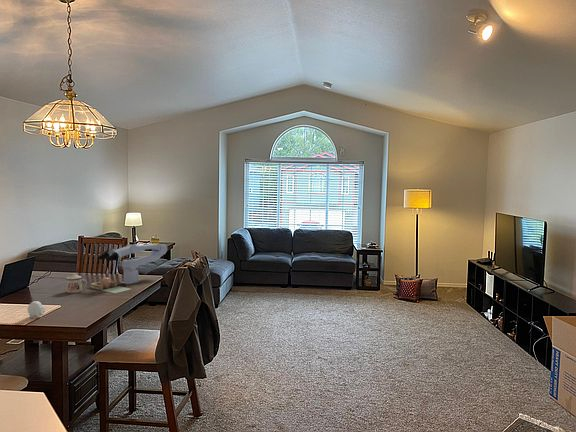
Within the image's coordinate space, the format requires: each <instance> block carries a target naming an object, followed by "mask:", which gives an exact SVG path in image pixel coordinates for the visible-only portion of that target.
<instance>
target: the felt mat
mask: <svg viewBox="0 0 576 432" xmlns="http://www.w3.org/2000/svg"><path fill="white" fill-rule="evenodd" d="M130 290H132V288H128V287H123V286H120V285H119V286H116V287H110V288H105V289H103V290H101V291H102V292H106V293H112V294H119V293H123V292H126V291H130Z"/></svg>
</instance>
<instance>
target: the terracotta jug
mask: <svg viewBox="0 0 576 432" xmlns="http://www.w3.org/2000/svg"><path fill="white" fill-rule="evenodd" d="M99 282H100V285H101V286H103V289H110V288H111V286H110V282H111V278H110V277H102V278H101V280H100V281H99Z"/></svg>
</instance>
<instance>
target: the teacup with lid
mask: <svg viewBox="0 0 576 432" xmlns="http://www.w3.org/2000/svg"><path fill="white" fill-rule="evenodd" d="M65 280H66V293H68V294H77V293H81V292H82V291H83V288H86V286H87V283H88V281H87V280H86V279H83V277H82V276H81V275H78V274H76V273H75V272H73V273H71V275H69V276H66V278H65ZM83 282H84V283H85V284H84V285H83V284H82V283H83Z"/></svg>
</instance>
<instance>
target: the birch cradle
mask: <svg viewBox="0 0 576 432" xmlns="http://www.w3.org/2000/svg"><path fill="white" fill-rule="evenodd" d="M117 285H118V283H117V282H115V281H110V287H112V288H114V287H118V286H117ZM89 289H94V290H99V291H102V290H104V288H103V286H101V285H100V281H97V282H93V283H89Z"/></svg>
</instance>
